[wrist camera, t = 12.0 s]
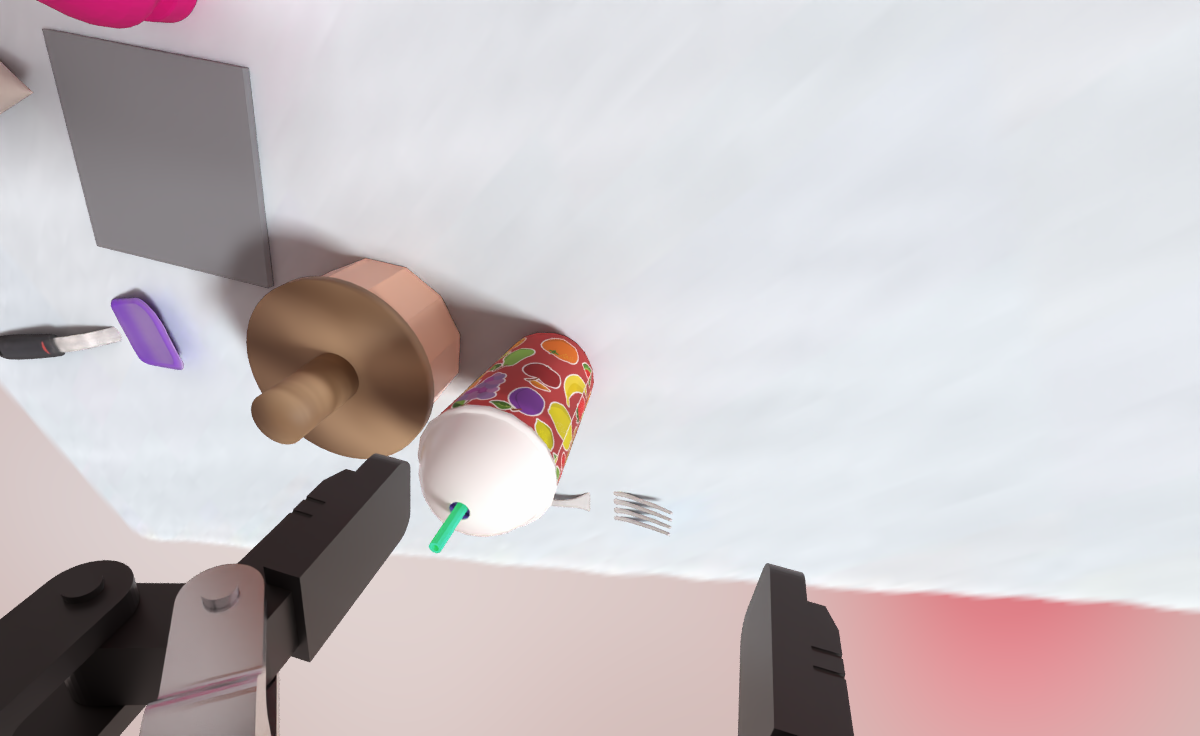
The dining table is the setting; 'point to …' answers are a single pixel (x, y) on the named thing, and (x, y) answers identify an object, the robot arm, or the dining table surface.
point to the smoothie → (505, 439)
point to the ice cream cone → (11, 89)
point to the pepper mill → (123, 11)
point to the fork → (584, 503)
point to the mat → (165, 154)
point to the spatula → (103, 338)
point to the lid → (337, 369)
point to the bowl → (412, 312)
